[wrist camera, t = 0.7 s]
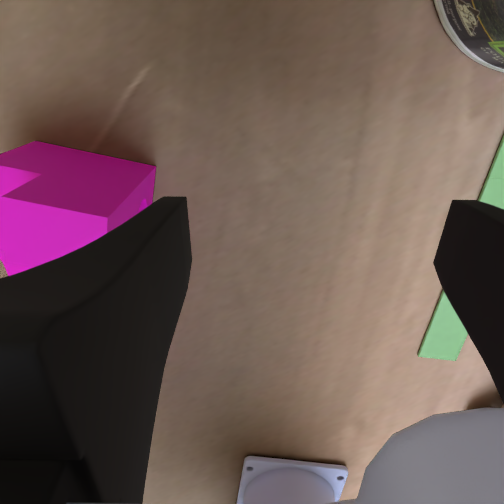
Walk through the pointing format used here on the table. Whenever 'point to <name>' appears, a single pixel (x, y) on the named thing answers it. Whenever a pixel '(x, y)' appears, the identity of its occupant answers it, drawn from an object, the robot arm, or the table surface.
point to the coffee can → (475, 29)
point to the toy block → (64, 200)
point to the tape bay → (444, 318)
